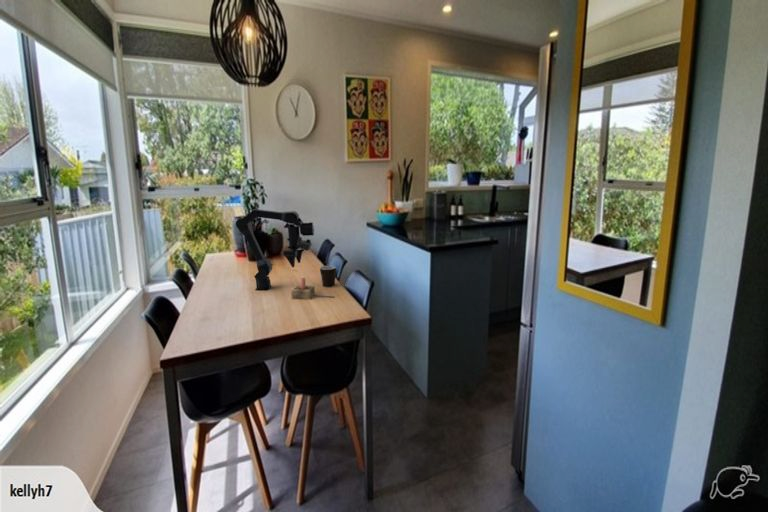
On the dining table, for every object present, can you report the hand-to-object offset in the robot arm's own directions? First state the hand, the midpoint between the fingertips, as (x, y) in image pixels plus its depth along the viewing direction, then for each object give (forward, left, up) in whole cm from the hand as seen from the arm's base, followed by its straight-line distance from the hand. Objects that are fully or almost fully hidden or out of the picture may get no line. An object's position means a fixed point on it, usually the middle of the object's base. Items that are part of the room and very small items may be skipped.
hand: (296, 264), depth 195 cm
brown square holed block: (+7, -13, -12) cm, 19 cm away
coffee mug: (+16, +6, -13) cm, 21 cm away
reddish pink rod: (+7, -13, -12) cm, 20 cm away
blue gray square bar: (+18, -14, -12) cm, 26 cm away
